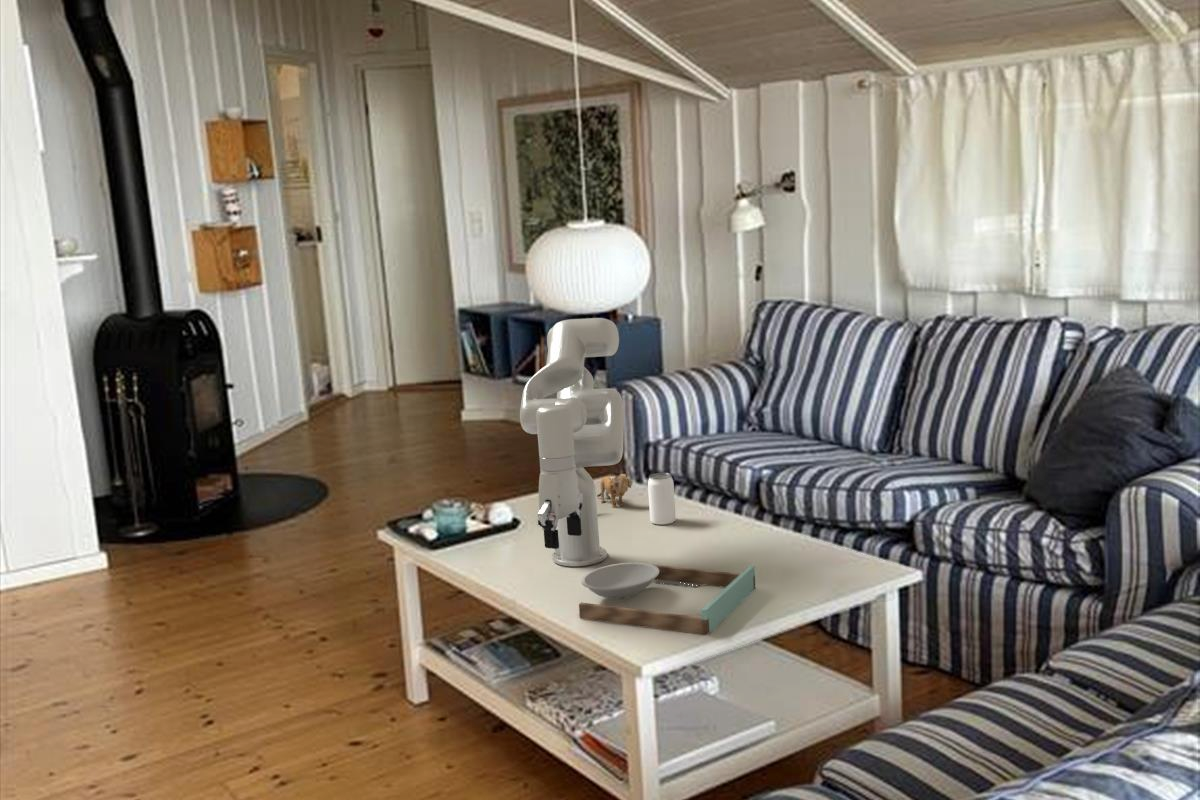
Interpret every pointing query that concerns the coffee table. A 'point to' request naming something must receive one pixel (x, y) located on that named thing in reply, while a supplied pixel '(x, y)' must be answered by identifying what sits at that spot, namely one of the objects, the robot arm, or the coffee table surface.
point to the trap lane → (711, 614)
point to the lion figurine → (614, 488)
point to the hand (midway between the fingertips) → (563, 541)
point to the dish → (620, 579)
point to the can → (661, 499)
